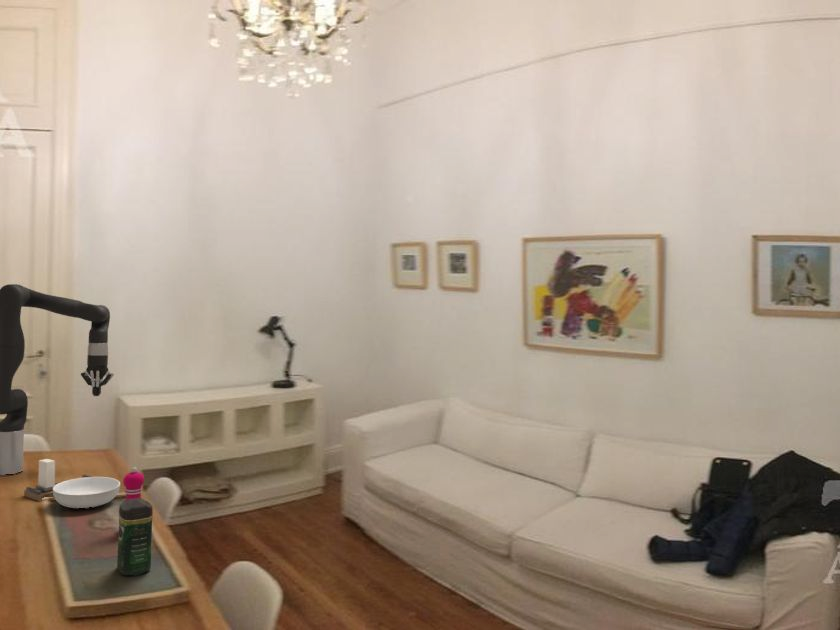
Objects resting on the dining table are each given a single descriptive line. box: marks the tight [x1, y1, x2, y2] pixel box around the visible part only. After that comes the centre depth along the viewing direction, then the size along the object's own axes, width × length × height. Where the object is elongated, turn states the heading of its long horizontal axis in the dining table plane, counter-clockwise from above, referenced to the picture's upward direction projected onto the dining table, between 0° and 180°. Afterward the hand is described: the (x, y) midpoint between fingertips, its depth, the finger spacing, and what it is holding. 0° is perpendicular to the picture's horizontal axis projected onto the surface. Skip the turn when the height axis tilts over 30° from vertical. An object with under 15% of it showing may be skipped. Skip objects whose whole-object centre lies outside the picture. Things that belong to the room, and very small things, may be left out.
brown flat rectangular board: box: [23, 474, 93, 502], centre depth 234 cm, size 22×10×3 cm, turn 150°
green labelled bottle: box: [116, 498, 154, 576], centre depth 171 cm, size 10×8×19 cm
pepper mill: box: [122, 466, 145, 500], centre depth 198 cm, size 7×7×20 cm
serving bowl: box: [53, 476, 121, 509], centre depth 221 cm, size 21×21×7 cm
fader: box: [34, 458, 56, 491], centre depth 228 cm, size 4×6×10 cm
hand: (96, 395), depth 261 cm, fingers closed
